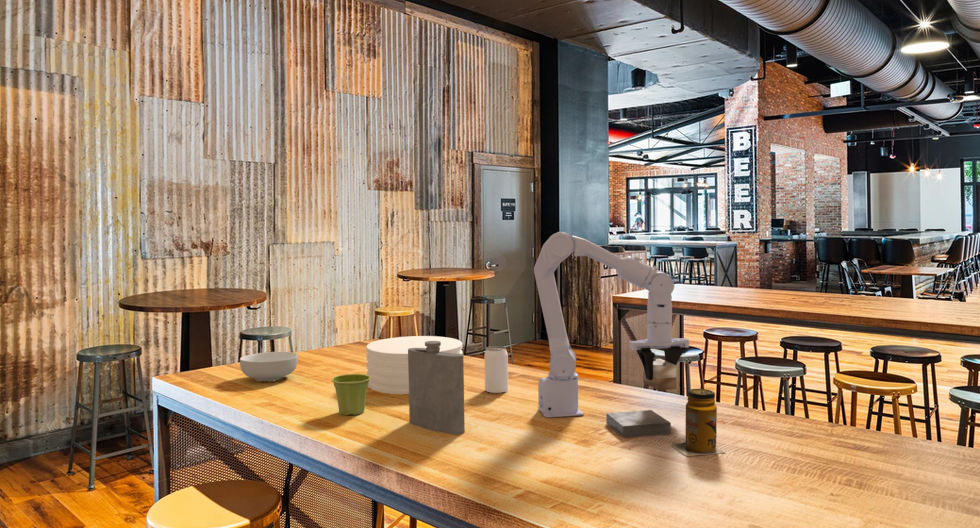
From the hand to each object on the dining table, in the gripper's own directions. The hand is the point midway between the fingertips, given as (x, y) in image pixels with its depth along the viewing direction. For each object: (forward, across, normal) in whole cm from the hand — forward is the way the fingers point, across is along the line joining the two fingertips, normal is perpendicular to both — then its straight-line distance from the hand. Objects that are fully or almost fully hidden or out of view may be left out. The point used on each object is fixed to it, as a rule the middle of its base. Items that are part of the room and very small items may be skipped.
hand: (659, 378), depth 157 cm
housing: (+2, 0, 0) cm, 2 cm away
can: (+9, -33, +32) cm, 47 cm away
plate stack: (+9, -53, +49) cm, 73 cm away
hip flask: (+9, -54, +4) cm, 55 cm away
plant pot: (+9, -72, +22) cm, 76 cm away
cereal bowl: (+9, -96, +65) cm, 116 cm away
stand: (+9, -10, -8) cm, 15 cm away
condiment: (+9, -4, -24) cm, 25 cm away
